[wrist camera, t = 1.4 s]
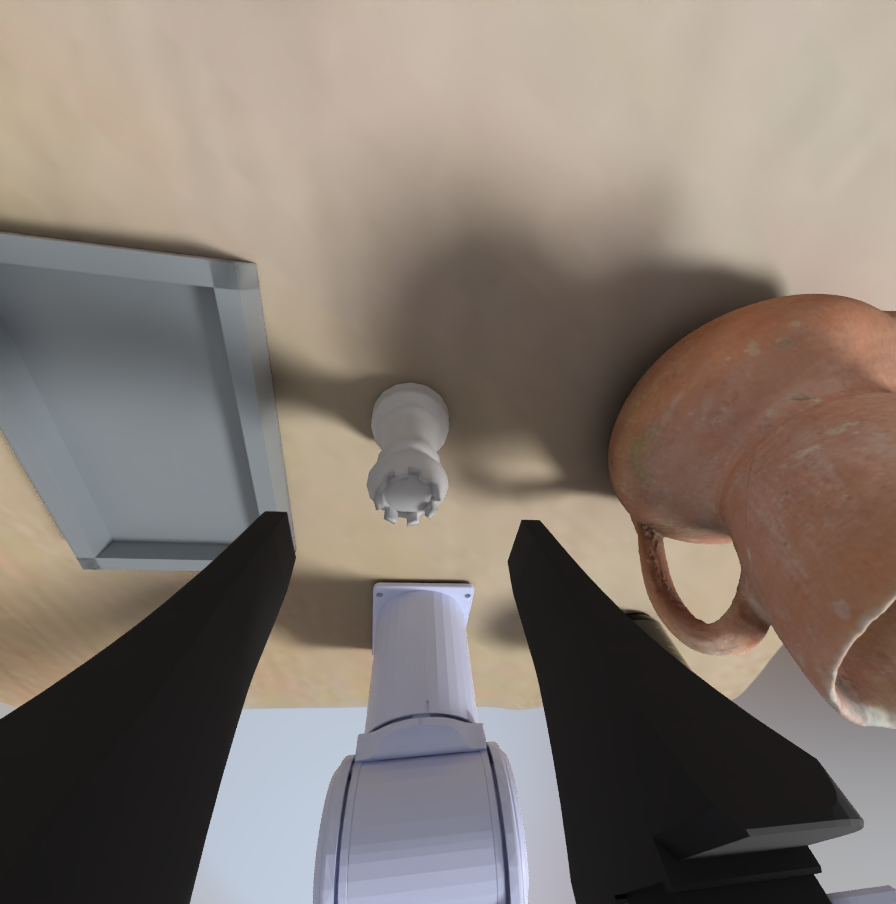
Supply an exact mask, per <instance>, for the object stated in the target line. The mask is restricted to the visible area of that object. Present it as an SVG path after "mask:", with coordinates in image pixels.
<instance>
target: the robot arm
mask: <svg viewBox="0 0 896 904" xmlns="http://www.w3.org/2000/svg"><path fill="white" fill-rule="evenodd" d="M295 559H296V556H295V551H294V545H293V540H292V535H291V529H290V524H289V519H288V514H287V512H280V511H265V512H263V513H262V514H261V515H260V516H259V517H258V518H257V519H256V520H255V521H254V522H253V523H252V524H251V525H250V526H249V527H248V528H247V529H246V530H245V531H244V532H243V533H241V534H240V535H239V536H238V537H237V538H236V539H235V540H234V541H233V542H232V543H231V544H230V545H229V546H228V547H227V548H226V549H225V550H224V551H223V552H222V553H220V554H219V555H218V556H217V557H216V558H215V559H214V560H213V561H212V562H211V563H210V564H208V565H207V566H206V567H205V568H204V569H203V570H202V571H201V572H200V573H199V574H197V575H196V576H195V577H194V578H193V579H192V580H191V581H189V582H188V583H187V584H186V585H185V586H184V587H182V588H181V589H180V590H179V591H178V592H176V593H175V594H174V595H173V596H172V597H171V598H169V599H168V600H167V601H166V602H165V603H163V604H162V605H161V606H160V607H159V608H157V609H156V610H155V611H154V612H152V613H151V614H150V615H149V616H147V617H146V618H145V619H144V620H142V621H141V622H140V623H138V624H137V625H136V626H135V627H133V628H132V629H131V630H129V631H128V632H127V633H125V634H124V635H123V636H121V637H120V638H119V639H117V640H116V641H115V642H113V643H112V644H111V645H109V646H108V647H106V648H105V649H104V650H102V651H101V652H99V653H98V654H97V655H95V656H94V657H92V658H91V659H90V660H88V661H87V662H85V663H84V664H83V665H81V666H80V667H78V668H77V669H75V670H74V671H72V672H71V673H70V674H68V675H67V676H65V677H64V678H62V679H61V680H59V681H58V682H57V683H55V684H54V685H52V686H51V687H49V688H48V689H46V690H45V691H43V692H42V693H40V694H39V695H37V696H36V697H34V698H33V699H31V700H30V701H28V702H26V703H25V704H23V705H22V706H20V707H19V708H17V709H16V710H14V711H12V712H11V713H9V714H8V715H6V716H5V717H4V718H2V719H0V904H190V900H191V895H192V892H193V888H194V883H195V880H196V876H197V872H198V868H199V864H200V859H201V855H202V851H203V847H204V843H205V839H206V835H207V831H208V828H209V824H210V820H211V817H212V813H213V809H214V806H215V802H216V798H217V794H218V791H219V787H220V783H221V780H222V776H223V773H224V769H225V766H226V762H227V759H228V755H229V752H230V748H231V744H232V741H233V738H234V734H235V731H236V728H237V724H238V721H239V718H240V714H241V711H242V708H243V705H244V701H245V698H246V695H247V692H248V689H249V686H250V683H251V680H252V678H253V675H254V672H255V670H256V667H257V665H258V662H259V660H260V657H261V655H262V652H263V650H264V647H265V645H266V642H267V640H268V637H269V635H270V632H271V630H272V627H273V625H274V623H275V620H276V618H277V615H278V613H279V610H280V607H281V605H282V602H283V600H284V597H285V595H286V592H287V589H288V585H289V582H290V578H291V575H292V571H293V567H294V563H295ZM508 566H509V572H510V579H511V584H512V590H513V594H514V598H515V601H516V605H517V608H518V612H519V615H520V619H521V622H522V625H523V629H524V632H525V635H526V639H527V642H528V645H529V649H530V652H531V656H532V659H533V662H534V666H535V670H536V674H537V678H538V682H539V687H540V692H541V697H542V702H543V706H544V711H545V716H546V722H547V727H548V733H549V738H550V744H551V749H552V754H553V760H554V766H555V772H556V779H557V785H558V791H559V797H560V803H561V811H562V818H563V825H564V831H565V839H566V845H567V853H568V862H569V869H570V877H571V884H572V888H573V892H574V896H575V900H576V904H896V890H895V889H894V888H892V887H891V886H889V885H887V886H881V887H873V888H865V889H859V890H851V891H845V892H837V893H830V894H826V893H825V892H824V890H823V888H822V887H821V886H820V884H819V882H818V880H817V879H816V877H815V876H814V874H817V873H821V872H822V871H821V866H820V865H819V863H818V861H817V860H816V858H815V857H814V855H813V854H812V852H811V850H810V849H809V847H808V846H807V845H811V844H814V843H818V842H822V841H825V840H829V839H833V838H836V837H840V836H843V835H847V834H850V833H853V832H856V831H859V830H861V829H862V828H863V827H864V826H863V824H864V821H863V819H862V818H861V817H860V815H859V814H858V813H857V811H856V810H855V809H854V808H853V806H852V805H851V803H850V802H849V801H848V799H847V798H846V797H845V796H844V794H843V793H842V792H841V790H840V789H839V788H838V786H837V785H836V784H835V782H834V781H833V780H832V778H831V777H830V776H829V774H828V773H827V772H826V770H825V769H824V768H823V766H822V765H821V764H820V762H819V761H818V760H817V759H816V758H814V757H813V756H811V755H810V754H808V753H807V752H805V751H804V750H802V749H801V748H799V747H798V746H796V745H795V744H793V743H792V742H790V741H788V740H787V739H786V738H784V737H783V736H781V735H780V734H778V733H777V732H775V731H774V730H772V729H770V728H769V727H767V726H766V725H765V724H763V723H762V722H760V721H759V720H757V719H756V718H754V717H753V716H751V715H750V714H749V713H747V712H746V711H744V710H743V709H742V708H740V707H739V706H738V705H736V704H735V703H734V702H732V701H731V700H729V699H728V698H727V697H725V696H724V695H723V694H721V693H720V692H718V691H717V690H716V689H714V688H713V687H712V686H710V685H709V684H708V683H707V682H705V681H704V680H703V679H701V678H700V677H699V676H697V675H696V674H695V673H694V672H692V671H691V670H690V669H689V668H687V667H686V666H685V665H684V664H682V663H681V662H680V661H679V660H677V659H676V658H675V657H674V656H673V655H671V654H670V653H669V652H668V651H666V650H665V649H664V648H663V647H662V646H661V645H659V644H658V643H657V642H656V641H655V640H654V639H652V638H651V637H650V636H649V635H648V634H647V633H646V632H645V631H643V630H642V629H641V628H640V627H639V626H638V625H637V624H636V623H635V622H634V621H632V620H631V619H630V618H629V617H628V616H627V615H626V614H625V613H624V612H623V611H622V610H621V609H620V608H619V607H618V606H617V605H616V604H615V603H614V602H613V601H612V600H611V599H610V598H609V597H608V596H607V595H606V594H605V593H604V592H603V591H602V590H601V589H600V588H599V587H598V586H597V585H596V584H595V583H594V582H593V581H592V580H591V579H590V577H589V576H588V575H587V574H586V573H585V572H584V571H583V570H582V569H581V568H580V566H579V565H578V564H577V563H576V562H575V561H574V560H573V558H572V557H571V556H570V555H569V554H568V553H567V552H566V550H565V549H564V548H563V547H562V546H561V545H560V543H559V542H558V541H557V540H556V539H555V538H554V536H553V535H552V534H551V533H550V532H549V530H548V529H547V528H546V527H545V526H544V525H543V523H542V522H541V521H540V520H522V521H521V524H520V527H519V529H518V532H517V535H516V538H515V541H514V544H513V547H512V550H511V553H510V556H509V559H508ZM473 595H474V586H473V585H472V584H456V583H382V582H380V583H376V584H375V585H374V587H373V640H372V654H373V664H372V673H371V682H370V691H369V700H368V708H367V718H366V726H365V734H359V735H358V740H357V748H356V755H349V756H346V757H345V758H344V760H343V761H342V763H341V765H340V766H339V768H338V769H337V770H336V771H335V773H334V774H333V776H332V779H331V782H330V785H329V788H328V791H327V795H326V799H325V804H324V809H323V814H322V819H321V824H320V830H319V837H318V845H317V852H316V861H315V872H314V887H313V904H528V888H529V878H528V862H527V851H526V842H525V835H524V828H523V821H522V815H521V809H520V803H519V798H518V793H517V789H516V784H515V780H514V776H513V772H512V768H511V765H510V762H509V759H508V757H507V755H506V754H505V753H504V752H503V751H502V750H501V749H500V748H499V746H498V744H497V743H496V742H486V738H485V733H484V726H483V723H478V717H477V709H476V702H475V694H474V687H473V679H472V671H471V664H470V656H469V649H468V641H467V634H466V625H467V621H468V616H469V612H470V608H471V604H472V599H473Z"/></svg>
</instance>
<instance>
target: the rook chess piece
mask: <svg viewBox="0 0 896 904" xmlns="http://www.w3.org/2000/svg"><path fill="white" fill-rule="evenodd" d="M371 419H372V421H371V428H372V432H373V436H374V440H375V442H376V443H377V444H378V446H379V447H380V448H381V449H382V451H381V452H380V454H379V455H378V460H377V463H376V464H375V465H374V466H373V468H372V469H371V470H370V471H369V475H368V480H367V488H368V492H369V495H370V498H371V499H372V500H373V501H374V504H375V507H376V510H379V509H382V510H384V511H385V514H384V519H385V520H387V521H389V522H391V523H393V524H395V522H396V521H397V518H398V517H401V518H407V526H411V525H418V524H419V517H420V516H422V515H424V514H425V516H427V517H428V518H429V519H430V518H431V517H432V516H433V515H434V514H435V513H436V512H437V506H438V505H439V504H440V503H441V502H442V501H443V500H444V498H445V496H446V493H447V490H448V480H447V473H446V472H445V471H444V469H443V468H442V466H441V465H440V459H439V456H438V454H437V452H438V450H439V449H440V448H441V447H442V446H443V445H444V443H445V441H446V438H447V435H448V431H449V414H448V407H447V406H446V404H445V402H444V401H443V399H442V397H441V396H440V395H439V394H438V393H436V392H435V391H434V390H432V389H431V388H429V387H428V386H425V385H421V384H417V383H413V382H410V383H403V384H396V385H394V386H393V387H391V388H389V389H387V390H386V391H384V392H382V394H381V395H380V397H379V398H378V399H377V401H376V402H375V404H374V407H373V412H372V417H371Z"/></svg>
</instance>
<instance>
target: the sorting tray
mask: <svg viewBox="0 0 896 904" xmlns="http://www.w3.org/2000/svg"><path fill="white" fill-rule="evenodd" d="M0 428H1V430H2V432H3V433H4V435H5V437H6V439H7V440H8V442H9V444H10V445H11V447H12V449H13V451H14V452H15V454H16V456H17V457H18V459H19V461H20V462H21V464H22V466H23V468H24V469H25V471H26V473H27V474H28V476H29V478H30V479H31V481H32V483H33V485H34V486H35V488H36V490H37V491H38V493H39V495H40V497H41V498H42V500H43V502H44V503H45V505H46V507H47V508H48V510H49V512H50V514H51V515H52V517H53V519H54V520H55V522H56V524H57V525H58V527H59V529H60V531H61V532H62V534H63V536H64V537H65V539H66V541H67V543H68V544H69V546H70V548H71V549H72V551H73V553H74V554H75V556H76V558H77V560H78V561H79V563H80V565H81V566H82V568H83V569H104V570H165V571H202V570H203V569H204V568H205V567H206V566H207V565H208V564H210V563H211V562H212V561H213V560H214V559H215V558H216V557H217V556H218V555H219V554H220V553H222V552H223V551H224V550H225V549H226V548H227V547H228V546H229V545H230V544H231V543H232V542H233V541H234V540H235V539H236V538H237V537H238V536H239V535H240V534H241V533H243V532H244V531H245V530H246V529H247V528H248V527H249V526H250V525H251V524H252V523H253V522H254V521H255V520H256V519H257V518H258V517H259V516H260V515H261V514H262V513H263V512H265V511H280V512H287V514H288V519H289V524H290V529H291V535H292V540H293V545H294V551H295V552H296V544H295V537H294V530H293V523H292V516H291V509H290V502H289V495H288V487H287V480H286V473H285V466H284V459H283V452H282V445H281V438H280V431H279V424H278V416H277V409H276V402H275V395H274V388H273V381H272V374H271V367H270V360H269V353H268V346H267V338H266V331H265V324H264V317H263V310H262V303H261V296H260V289H259V282H258V275H257V268H256V263H248V262H240V261H232V260H224V259H217V258H209V257H201V256H193V255H185V254H177V253H169V252H161V251H153V250H146V249H138V248H130V247H122V246H114V245H106V244H98V243H90V242H83V241H75V240H67V239H59V238H51V237H43V236H35V235H27V234H19V233H12V232H4V231H0Z"/></svg>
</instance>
